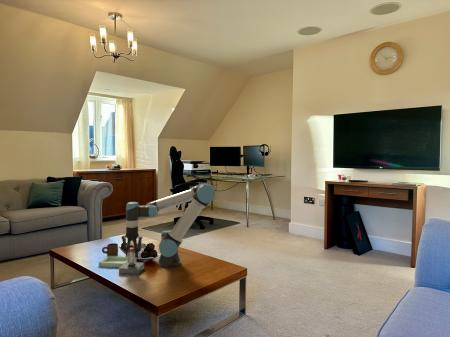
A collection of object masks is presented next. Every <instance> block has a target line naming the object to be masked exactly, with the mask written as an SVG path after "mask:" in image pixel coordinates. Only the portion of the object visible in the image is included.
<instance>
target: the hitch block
mask: <svg viewBox="0 0 450 337" xmlns="http://www.w3.org/2000/svg"><path fill="white" fill-rule="evenodd" d="M144 269H145V262H138V261H136V263H135V266H134V267H129V263H127V262H126V263H125V264H123V265H122V266H121V267H120V268H118V275H122V276H138V275H139V274H140V273H141V272H142V271H143V270H144Z"/></svg>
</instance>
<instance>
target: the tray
mask: <svg viewBox="0 0 450 337" xmlns="http://www.w3.org/2000/svg"><path fill="white" fill-rule="evenodd" d="M126 262H127V257H126V256H122V255H121V256H119V255H118V256H107V255H106V257H104V258H103V259H101V260H100V261H98V268H118V269H119V268H120V267H121V266H122V265H123V264H125V263H126Z"/></svg>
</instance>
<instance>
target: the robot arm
mask: <svg viewBox="0 0 450 337" xmlns="http://www.w3.org/2000/svg"><path fill="white" fill-rule="evenodd" d="M215 197H216V190H215V188H214V186H213V185H212V184H210V183H208V182H202V183H199V184H197V185H194V186H193V187H191V188H190V189H187V190H184V191H181V192H179V193H175V194H173V195H170V196H166V197H163V198H159V199H157V200H153V201H149V202H147V203H146V204H145V205H139V202H136V201H131V202H130V201H129V202H127V203H126V208H125V219H126V220H125V234H124V235H122V236H121V240H122V252H125V257H127V263H129V251H128V248H130V246H131V242H132V243H133V247H134V250H135V253H134V263H136V262H137V259H138V256H139V253H140V252H142V251H141V250H142V239H143V236H141V235H140V234H139V218H156V217H157V216H158V212H161V211H163V210H166V209H169V208H172V207H175V206H178V205H182V204H184V203H185V204H186V203H188V202H190V203H189V205H188V206H187V208H186V209H185V210H184V212H183V214H182V215H181V216H180V217H179V219H178V221H177V222H176V224H175V225H174V226H173V228H172V229H171V230H163V231H161V235H160V236H161V237H160V238H161V239H160V242H159V245H158V251H159V253H160V255H159V259H158V266H160V267H164V268H174V267H177V266H180V264H181V258H180V254H179V247H180V246H181V244H182V243H183V237H184V236H185V234H186V233H187V232H188V230H189V229H190V228H191V226H192V225H193V223H194V222H195V220H196V219H197V217H198V216H199V214H200V213H201V212H202V210H203V209H205V208H207V207H208V206H209V204H210V203H211V202H212V201H213V200H214V199H215ZM137 241H138V242H137Z"/></svg>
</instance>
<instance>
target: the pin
mask: <svg viewBox="0 0 450 337" xmlns="http://www.w3.org/2000/svg"><path fill="white" fill-rule="evenodd" d="M128 251H129V267H134V266H135V263H134V253H135V250H134V246H133V247H130V248H128Z"/></svg>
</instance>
